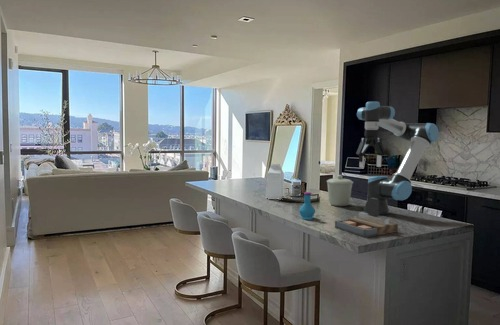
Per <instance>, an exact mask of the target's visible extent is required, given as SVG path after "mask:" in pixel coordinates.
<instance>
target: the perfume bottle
mask: <svg viewBox="0 0 500 325" xmlns="http://www.w3.org/2000/svg"><path fill="white" fill-rule="evenodd" d="M303 194H304V195H303V196H304V199H303V200H304V203H303V204H302V205H301V207H300V208H299V210H298V212H299V214H300V216H301V217H300V218H301V219H303V220H313V218H314V215H315V213H316V209H315V208H314V206H313V204H311V202H312V201H311V200H312V199H311V198H312V197H311V196H312V192H310V191H309V192H308V191H305V192H303Z"/></svg>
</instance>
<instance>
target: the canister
mask: <svg viewBox="0 0 500 325" xmlns="http://www.w3.org/2000/svg"><path fill="white" fill-rule="evenodd" d="M326 184H327V194H328V195H327V196H328V202H329V204H330V205H331V206H333V207H334V206H335V207H345V206H349V203H350V200H351V195H352V190H353V189H352V188H353V184H354V181H352V180H351V179H348V178H343V174H338V175H337V176H336V178H335V177H334V178H329V179H327V180H326Z"/></svg>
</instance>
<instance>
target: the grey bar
mask: <svg viewBox="0 0 500 325" xmlns="http://www.w3.org/2000/svg"><path fill="white" fill-rule="evenodd" d="M378 211H379V199H377V198H369V210H368V213H366V212H364V211H359V212H358V217H357V218H360V219H364V220H367V221H371V222H374V223H378V224H381V225H389V222H390V219H389V218H387V217H382V216H381V215H378Z"/></svg>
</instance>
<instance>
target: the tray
mask: <svg viewBox="0 0 500 325" xmlns="http://www.w3.org/2000/svg"><path fill="white" fill-rule="evenodd" d="M344 221H348V219H341V220H335V221H334V228H336V229H338V230H341V231H344V232H347V233H350V234H353V235H355V236H360V237H361V238H370V237H377V236H378V235H377V228H373V229H366V230H364V229H361V228H358V227H355V226H352V225H348V224H345V223H342V222H344Z"/></svg>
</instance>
